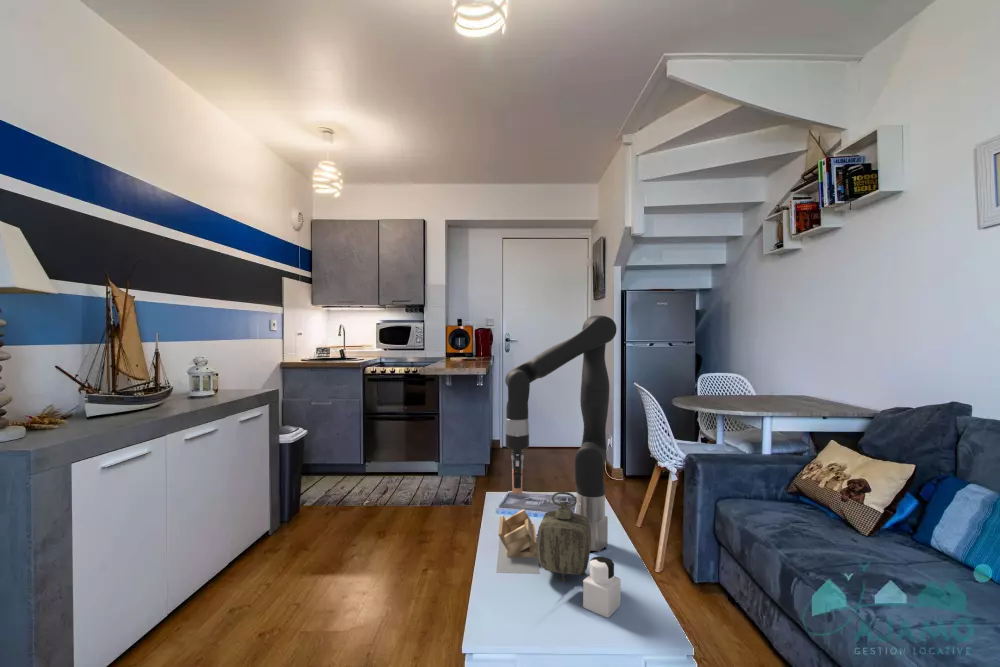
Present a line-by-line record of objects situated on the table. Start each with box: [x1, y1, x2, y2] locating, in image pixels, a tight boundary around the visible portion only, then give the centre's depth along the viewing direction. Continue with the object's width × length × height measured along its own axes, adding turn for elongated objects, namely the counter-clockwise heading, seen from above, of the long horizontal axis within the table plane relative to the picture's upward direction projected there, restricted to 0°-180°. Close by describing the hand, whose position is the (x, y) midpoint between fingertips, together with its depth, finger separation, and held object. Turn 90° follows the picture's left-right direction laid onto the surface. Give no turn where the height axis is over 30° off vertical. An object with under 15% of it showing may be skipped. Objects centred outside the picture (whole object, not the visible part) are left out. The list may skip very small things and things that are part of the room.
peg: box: [511, 468, 523, 495], centre depth 148 cm, size 3×3×11 cm
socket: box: [498, 508, 537, 557], centre depth 148 cm, size 12×13×10 cm
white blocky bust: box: [582, 555, 621, 619], centre depth 119 cm, size 7×7×12 cm
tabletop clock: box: [536, 491, 591, 582], centre depth 131 cm, size 14×9×25 cm, turn 74°
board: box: [495, 536, 541, 575], centre depth 144 cm, size 23×12×1 cm, turn 177°
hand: (517, 485), depth 148 cm, fingers closed on peg, 3 cm apart
